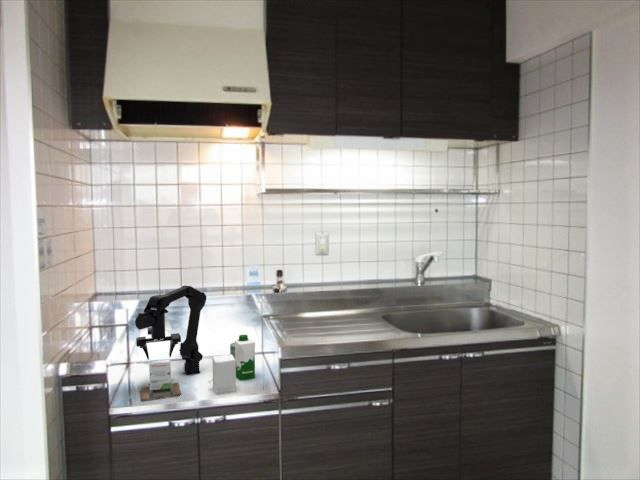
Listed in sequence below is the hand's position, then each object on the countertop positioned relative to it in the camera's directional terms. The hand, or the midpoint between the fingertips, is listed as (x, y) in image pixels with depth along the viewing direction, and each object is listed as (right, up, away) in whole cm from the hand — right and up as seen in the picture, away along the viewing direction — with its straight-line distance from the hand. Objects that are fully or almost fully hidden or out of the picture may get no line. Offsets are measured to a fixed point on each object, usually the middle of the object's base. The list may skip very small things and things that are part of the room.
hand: (159, 358), depth 211 cm
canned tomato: (+30, -11, +29) cm, 44 cm away
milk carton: (+37, -12, +11) cm, 40 cm away
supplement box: (+30, -13, -5) cm, 34 cm away
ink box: (+3, -11, -6) cm, 13 cm away
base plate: (+3, -13, -6) cm, 15 cm away
